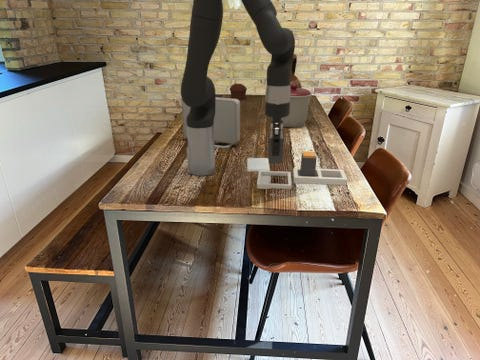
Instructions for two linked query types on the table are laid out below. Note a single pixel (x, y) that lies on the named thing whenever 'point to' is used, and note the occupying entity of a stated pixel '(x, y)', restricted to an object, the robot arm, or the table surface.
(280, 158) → the dark board eraser
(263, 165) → the hard drive
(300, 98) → the canister
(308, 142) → the table surface
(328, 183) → the white compartment holder
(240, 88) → the muffin
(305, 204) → the table surface
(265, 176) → the tray
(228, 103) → the network device
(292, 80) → the ceramic pitcher
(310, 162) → the dark grey orange block
